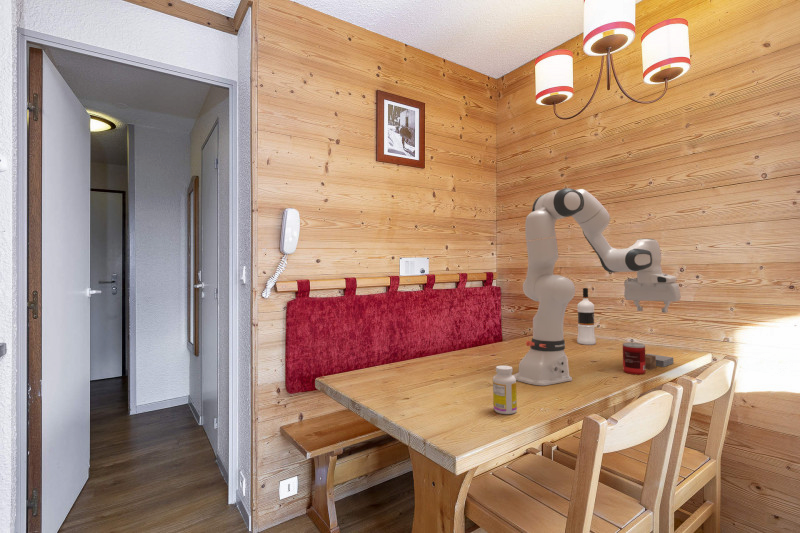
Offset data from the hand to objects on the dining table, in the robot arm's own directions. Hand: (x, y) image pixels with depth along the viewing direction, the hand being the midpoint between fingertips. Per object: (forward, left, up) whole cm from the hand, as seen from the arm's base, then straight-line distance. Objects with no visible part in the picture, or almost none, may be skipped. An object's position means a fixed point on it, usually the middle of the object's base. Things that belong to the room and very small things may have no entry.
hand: (652, 311), depth 163 cm
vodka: (+28, +44, -23) cm, 57 cm away
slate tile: (+9, +3, -23) cm, 25 cm away
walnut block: (-2, +2, -23) cm, 23 cm away
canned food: (-13, +2, -23) cm, 27 cm away
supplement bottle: (-86, +6, -23) cm, 89 cm away
